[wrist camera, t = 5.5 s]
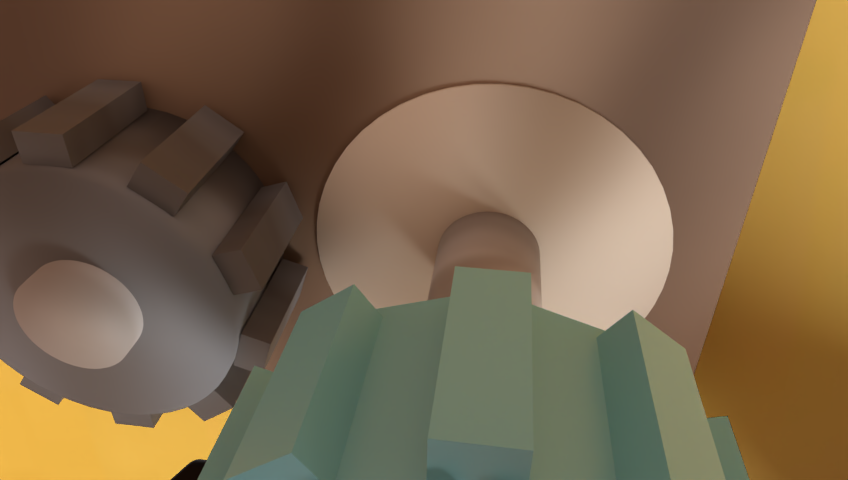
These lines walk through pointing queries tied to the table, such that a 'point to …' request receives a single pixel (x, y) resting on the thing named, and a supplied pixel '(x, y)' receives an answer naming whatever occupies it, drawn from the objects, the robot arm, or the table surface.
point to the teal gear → (472, 396)
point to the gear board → (361, 171)
